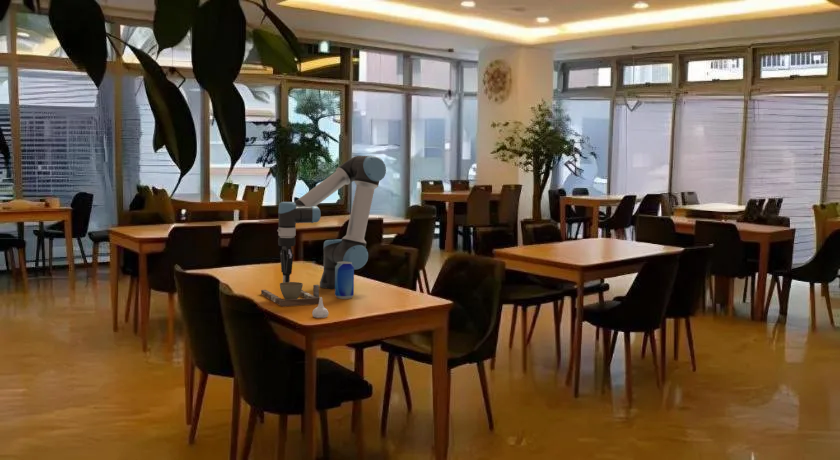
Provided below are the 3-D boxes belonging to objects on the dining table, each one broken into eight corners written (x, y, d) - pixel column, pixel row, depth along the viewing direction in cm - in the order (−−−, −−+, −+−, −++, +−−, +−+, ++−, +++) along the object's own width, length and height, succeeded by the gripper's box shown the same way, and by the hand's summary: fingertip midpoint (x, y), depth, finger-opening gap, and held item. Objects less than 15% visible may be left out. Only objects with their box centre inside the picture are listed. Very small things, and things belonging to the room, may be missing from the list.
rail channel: (261, 294, 357) (261, 281, 356) (304, 291, 366) (304, 278, 366) (281, 306, 329) (281, 292, 328) (328, 303, 338) (328, 289, 338)
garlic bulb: (319, 320, 306) (320, 300, 305) (308, 316, 310) (310, 296, 309) (331, 318, 311) (332, 298, 309) (320, 314, 315) (322, 295, 314)
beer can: (338, 299, 347) (339, 263, 345) (332, 296, 354) (332, 261, 353) (356, 298, 351) (356, 263, 349) (349, 295, 358) (349, 260, 357)
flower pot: (298, 302, 339) (298, 286, 338) (276, 301, 341) (276, 284, 340) (305, 298, 349) (305, 282, 348) (284, 297, 350) (284, 281, 350)
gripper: (274, 235, 352) (273, 287, 354) (282, 238, 340) (282, 292, 343) (290, 235, 355) (290, 286, 358) (299, 238, 344) (298, 291, 346)
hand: (286, 289), depth 350 cm, fingers closed
